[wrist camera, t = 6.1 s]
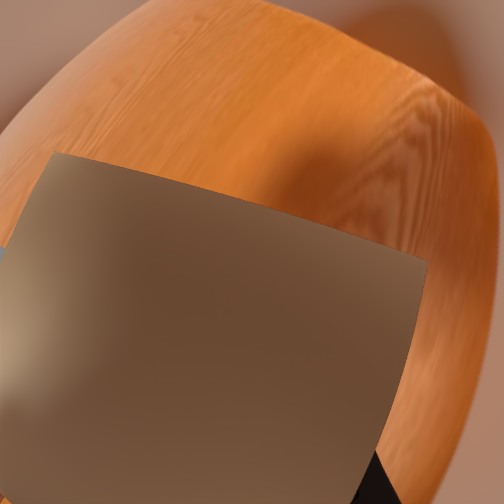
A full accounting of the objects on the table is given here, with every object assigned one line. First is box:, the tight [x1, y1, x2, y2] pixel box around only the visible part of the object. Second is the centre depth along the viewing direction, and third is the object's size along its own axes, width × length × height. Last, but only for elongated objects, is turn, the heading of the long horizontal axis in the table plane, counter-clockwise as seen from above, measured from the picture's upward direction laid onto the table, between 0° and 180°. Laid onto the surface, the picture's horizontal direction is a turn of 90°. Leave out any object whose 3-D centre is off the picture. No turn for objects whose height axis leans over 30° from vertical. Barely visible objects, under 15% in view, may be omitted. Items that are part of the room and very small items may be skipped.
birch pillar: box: [0, 152, 428, 504], centre depth 8 cm, size 5×5×12 cm
